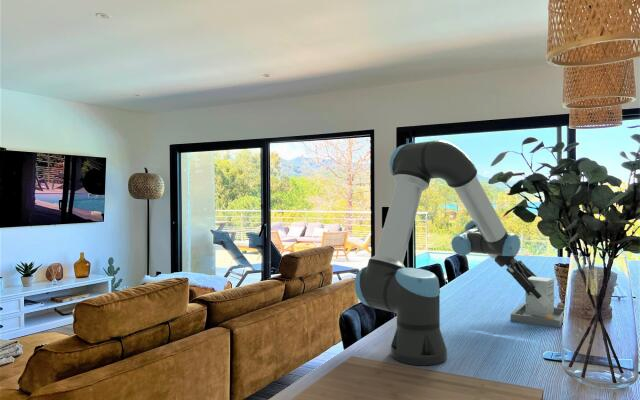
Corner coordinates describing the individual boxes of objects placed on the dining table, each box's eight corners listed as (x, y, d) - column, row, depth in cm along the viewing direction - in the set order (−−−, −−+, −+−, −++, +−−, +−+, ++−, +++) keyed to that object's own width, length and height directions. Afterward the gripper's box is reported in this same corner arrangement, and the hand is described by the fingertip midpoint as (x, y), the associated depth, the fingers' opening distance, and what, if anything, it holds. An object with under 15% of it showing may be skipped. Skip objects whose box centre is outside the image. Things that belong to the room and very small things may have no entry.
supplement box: (524, 314, 158) (524, 278, 157) (532, 310, 163) (532, 275, 163) (547, 318, 152) (547, 281, 152) (554, 314, 158) (554, 278, 158)
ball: (553, 325, 148) (553, 316, 148) (543, 323, 150) (543, 314, 150) (555, 323, 151) (555, 314, 151) (545, 321, 152) (545, 312, 152)
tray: (559, 329, 146) (559, 320, 146) (510, 322, 155) (510, 313, 155) (568, 317, 160) (568, 308, 160) (523, 311, 169) (523, 303, 169)
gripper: (500, 248, 155) (553, 301, 146) (516, 243, 172) (564, 290, 162) (485, 263, 158) (535, 315, 149) (501, 256, 175) (547, 303, 165)
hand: (550, 302), depth 155 cm, fingers closed on supplement box, 8 cm apart
